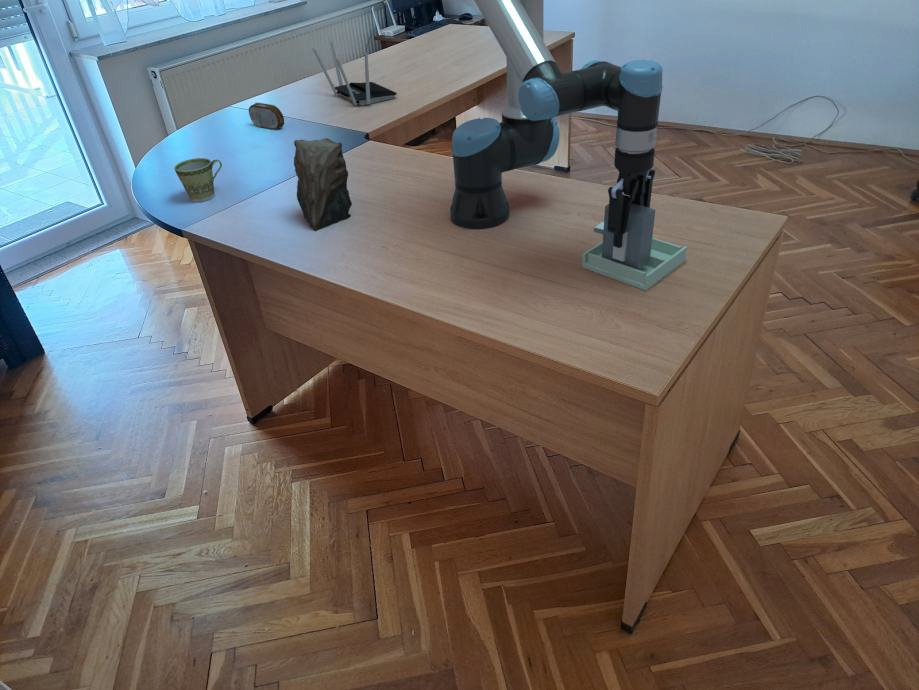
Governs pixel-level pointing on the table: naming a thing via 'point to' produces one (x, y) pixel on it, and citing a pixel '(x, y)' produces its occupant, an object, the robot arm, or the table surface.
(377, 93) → the wireless router
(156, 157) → the table surface
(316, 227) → the rock
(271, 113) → the tin
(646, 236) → the blue-grey rectangular block
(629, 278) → the green divided tray
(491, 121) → the robot arm
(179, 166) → the ceramic cup
